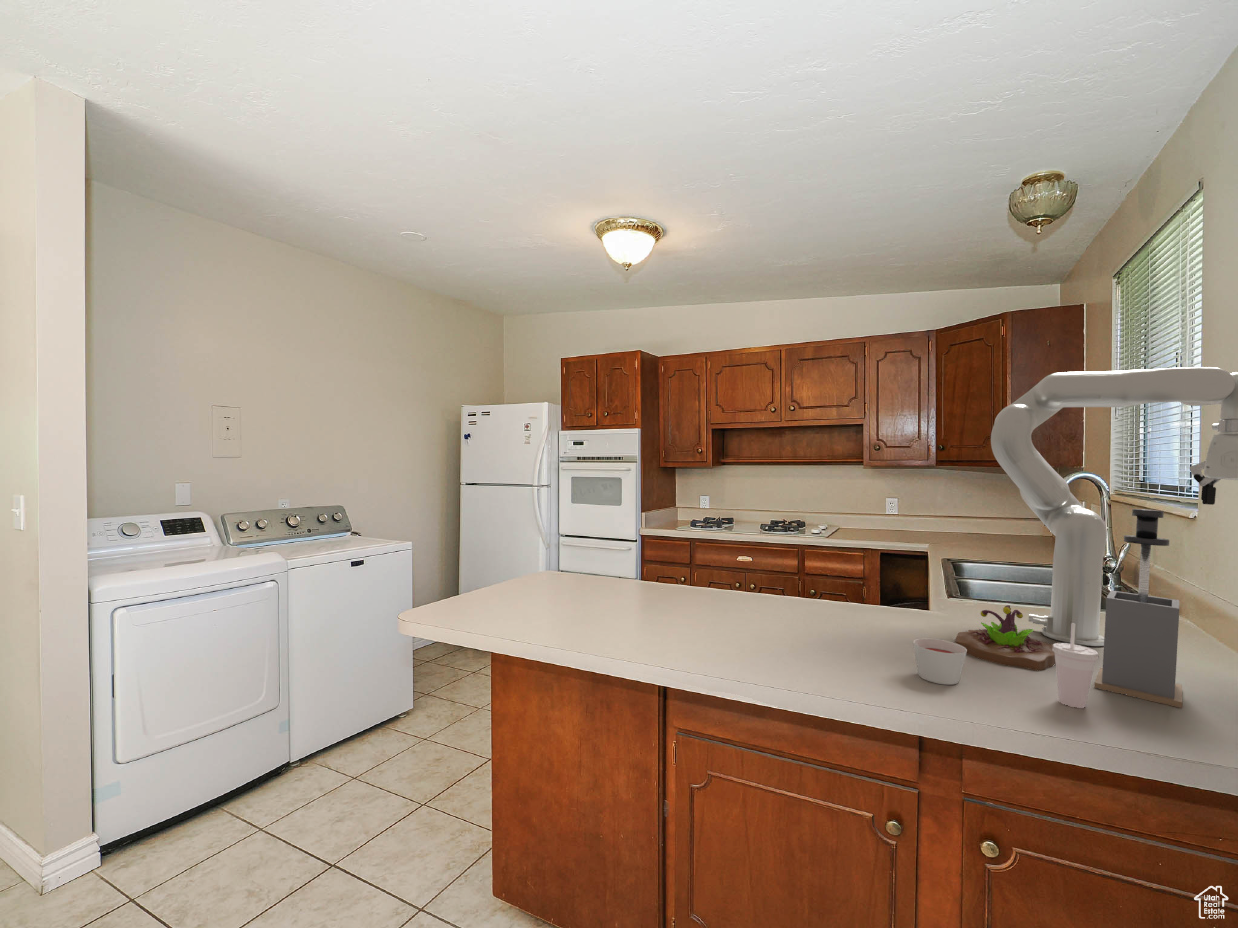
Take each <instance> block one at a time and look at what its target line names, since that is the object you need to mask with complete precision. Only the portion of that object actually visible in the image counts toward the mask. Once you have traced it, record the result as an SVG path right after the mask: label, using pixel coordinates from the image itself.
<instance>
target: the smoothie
mask: <svg viewBox="0 0 1238 928" xmlns="http://www.w3.org/2000/svg"><path fill="white" fill-rule="evenodd" d="M1074 641H1075V624H1074V623H1071V640H1070V643H1067V642H1057V643H1056V642H1055V643H1053V644H1052V645H1053V649H1052V651H1054V653H1055V672H1056V681H1057V683H1056V684H1057V693H1058V702H1059V703H1060V702H1061V703H1060V704H1062V705H1064V704H1065V705H1064V706H1066V705H1068V706H1067V707H1070V708H1074V707H1077V708H1076V709H1085V708H1086V706H1087V702H1088V697H1089V693H1090V688H1091V683H1092V677H1093V673H1094V668H1095V664H1096V660H1099V653H1098V651H1096V650H1095V649H1092V648H1090V647H1087V646H1085V645H1078V644H1074ZM1084 707H1085V708H1084Z"/></svg>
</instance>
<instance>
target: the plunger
mask: <svg viewBox="0 0 1238 928" xmlns="http://www.w3.org/2000/svg"><path fill="white" fill-rule="evenodd" d="M1164 514H1165V513H1164V510H1157V509H1145V508H1132V511H1131V516H1133V517H1136V528H1135V535H1129V534H1127V535H1124V536H1123V541H1124V542H1125V543H1130V544H1137V545H1140V556H1139V558H1140V559H1139V573H1138V575H1139V577H1138V591H1137V594H1138V602H1144V603H1148V596H1149V589H1150V588H1149V587H1150V573H1151V572H1150V571H1151V570H1150V568H1151V554H1152V553H1151V552H1152V551H1151V550H1152V548H1151V547H1152V546H1159V547H1166V546H1167V547H1168V546H1170V539H1168V538H1163V537H1158V530H1159V529H1158V527H1159V519H1160V518H1161V519H1164Z"/></svg>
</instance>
